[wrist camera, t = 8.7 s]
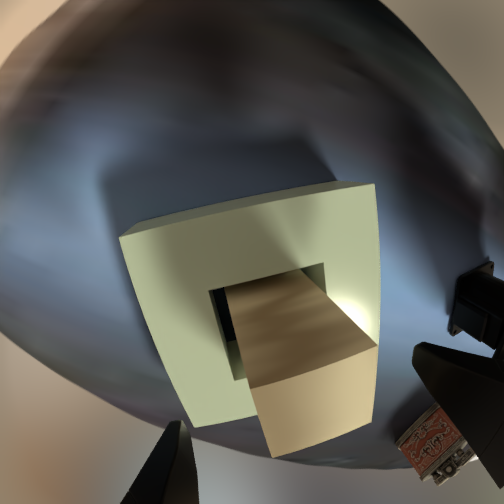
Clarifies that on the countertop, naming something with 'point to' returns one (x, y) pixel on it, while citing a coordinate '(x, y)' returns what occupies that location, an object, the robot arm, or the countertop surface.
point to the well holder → (248, 278)
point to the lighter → (435, 446)
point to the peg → (302, 360)
